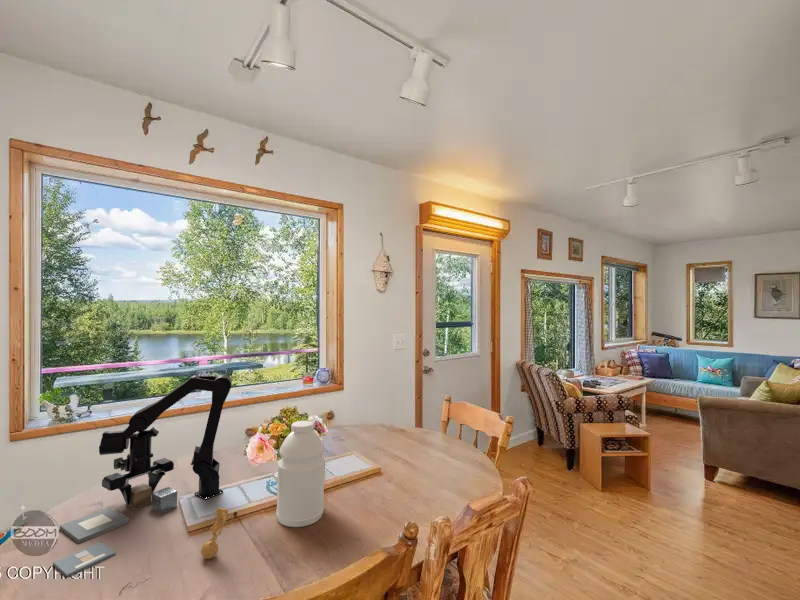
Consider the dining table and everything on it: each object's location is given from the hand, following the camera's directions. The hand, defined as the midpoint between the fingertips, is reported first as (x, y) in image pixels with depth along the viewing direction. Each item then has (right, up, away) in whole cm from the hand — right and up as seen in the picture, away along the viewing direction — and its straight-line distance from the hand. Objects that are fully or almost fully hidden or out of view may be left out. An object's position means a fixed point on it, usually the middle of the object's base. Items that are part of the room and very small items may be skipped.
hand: (138, 500), depth 126 cm
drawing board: (+5, -1, -27) cm, 28 cm away
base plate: (-4, -1, -13) cm, 13 cm away
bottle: (+52, -3, -4) cm, 52 cm away
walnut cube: (0, -1, 0) cm, 1 cm away
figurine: (+35, -2, -25) cm, 43 cm away
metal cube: (+9, -1, -2) cm, 10 cm away
